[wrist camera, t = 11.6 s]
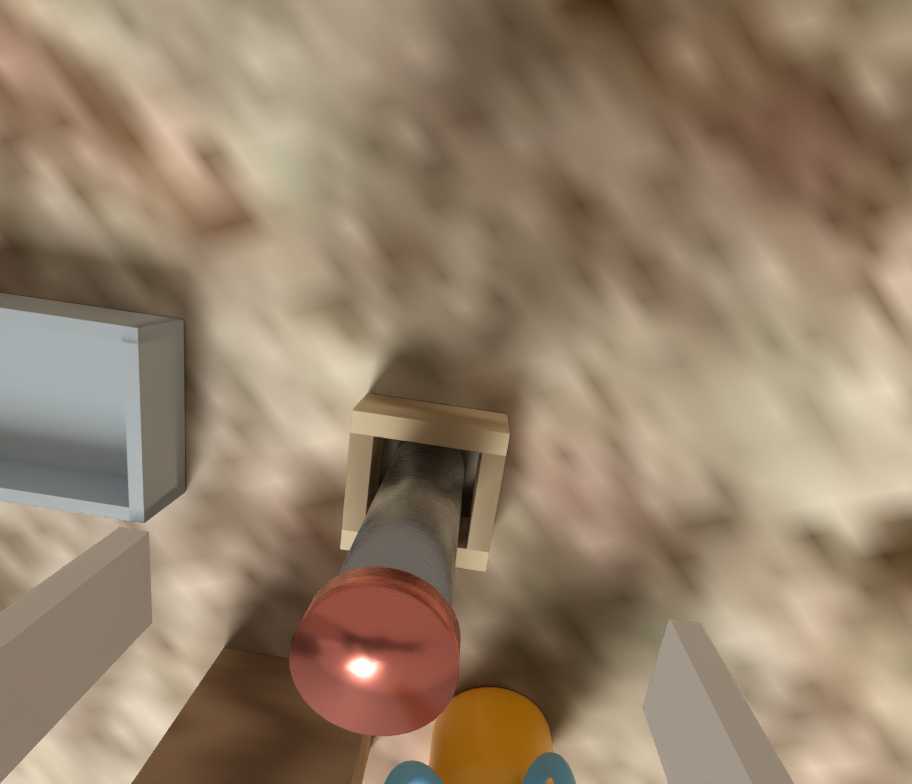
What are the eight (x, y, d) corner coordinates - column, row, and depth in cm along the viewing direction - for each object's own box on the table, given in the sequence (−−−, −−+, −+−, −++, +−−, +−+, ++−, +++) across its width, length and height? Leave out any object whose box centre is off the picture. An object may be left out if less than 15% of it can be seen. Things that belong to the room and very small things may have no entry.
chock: (223, 723, 26) (131, 885, 19) (224, 647, 25) (126, 791, 18) (370, 747, 26) (329, 919, 19) (379, 671, 24) (339, 827, 18)
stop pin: (381, 500, 22) (285, 721, 11) (390, 421, 21) (293, 582, 10) (465, 512, 22) (446, 747, 11) (477, 434, 21) (469, 610, 10)
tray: (-67, 453, 23) (-142, 478, 20) (-93, 279, 21) (-181, 280, 18) (185, 491, 22) (144, 523, 20) (183, 319, 20) (137, 327, 18)
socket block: (355, 518, 22) (340, 549, 20) (367, 393, 21) (351, 410, 18) (485, 538, 22) (485, 571, 20) (507, 413, 21) (509, 433, 18)
